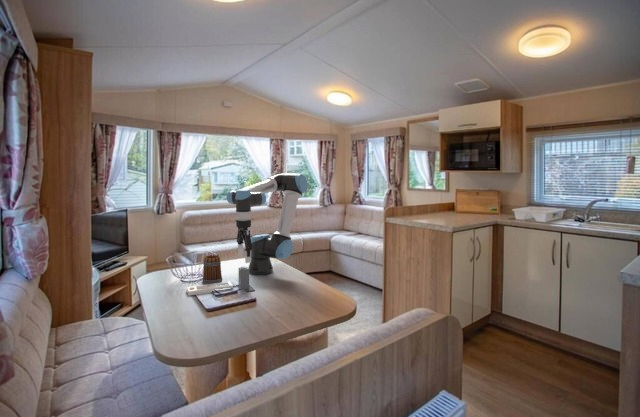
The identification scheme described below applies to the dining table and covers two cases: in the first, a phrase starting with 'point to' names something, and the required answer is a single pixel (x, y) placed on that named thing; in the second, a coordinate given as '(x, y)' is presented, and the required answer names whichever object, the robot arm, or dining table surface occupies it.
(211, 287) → the power strip
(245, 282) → the charger
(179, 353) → the dining table surface
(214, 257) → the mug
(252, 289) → the mat
